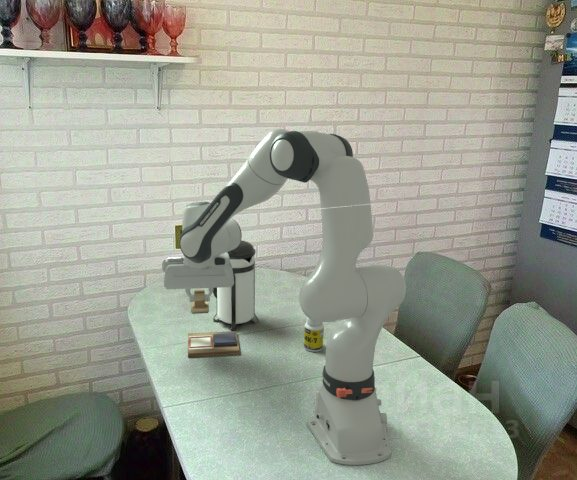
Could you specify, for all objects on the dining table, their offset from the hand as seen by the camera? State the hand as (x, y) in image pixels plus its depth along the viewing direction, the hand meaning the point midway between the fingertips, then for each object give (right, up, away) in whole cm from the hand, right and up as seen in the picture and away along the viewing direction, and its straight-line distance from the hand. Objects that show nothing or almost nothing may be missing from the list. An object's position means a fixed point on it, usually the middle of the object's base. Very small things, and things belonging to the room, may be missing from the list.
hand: (199, 301), depth 167 cm
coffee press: (+7, -9, +22) cm, 25 cm away
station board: (+3, -14, +5) cm, 15 cm away
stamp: (0, -3, +1) cm, 3 cm away
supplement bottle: (+34, -15, +5) cm, 37 cm away
